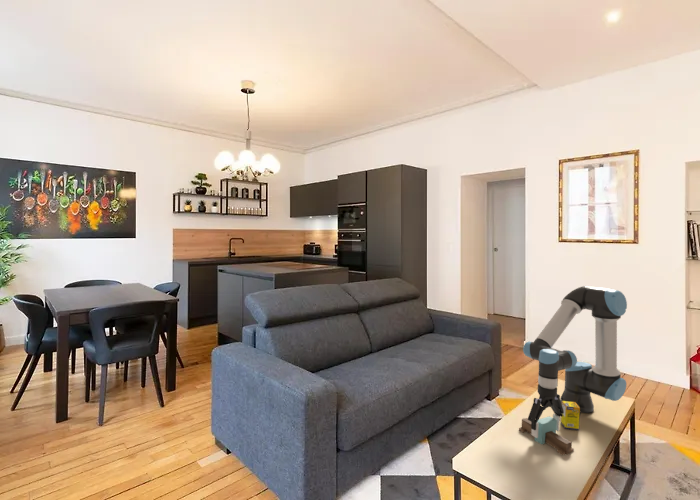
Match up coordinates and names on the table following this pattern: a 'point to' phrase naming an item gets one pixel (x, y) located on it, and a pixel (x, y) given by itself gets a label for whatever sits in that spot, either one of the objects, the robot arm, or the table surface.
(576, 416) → the supplement box
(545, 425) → the slotted block
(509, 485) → the table surface
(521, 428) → the rail
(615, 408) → the table surface
